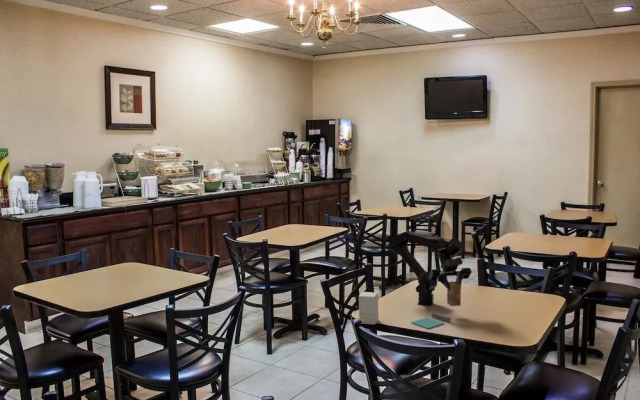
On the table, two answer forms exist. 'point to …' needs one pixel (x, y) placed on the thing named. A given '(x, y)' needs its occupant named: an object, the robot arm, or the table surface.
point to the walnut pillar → (454, 294)
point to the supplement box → (368, 307)
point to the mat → (427, 323)
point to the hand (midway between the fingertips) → (455, 289)
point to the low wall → (441, 317)
